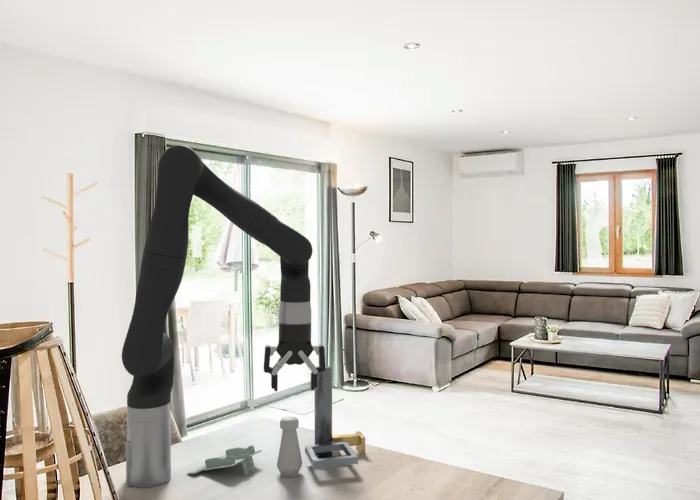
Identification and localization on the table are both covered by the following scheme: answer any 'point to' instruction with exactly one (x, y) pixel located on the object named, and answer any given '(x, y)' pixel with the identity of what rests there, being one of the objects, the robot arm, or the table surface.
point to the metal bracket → (231, 460)
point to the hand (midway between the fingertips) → (294, 390)
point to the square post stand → (330, 431)
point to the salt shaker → (289, 448)
